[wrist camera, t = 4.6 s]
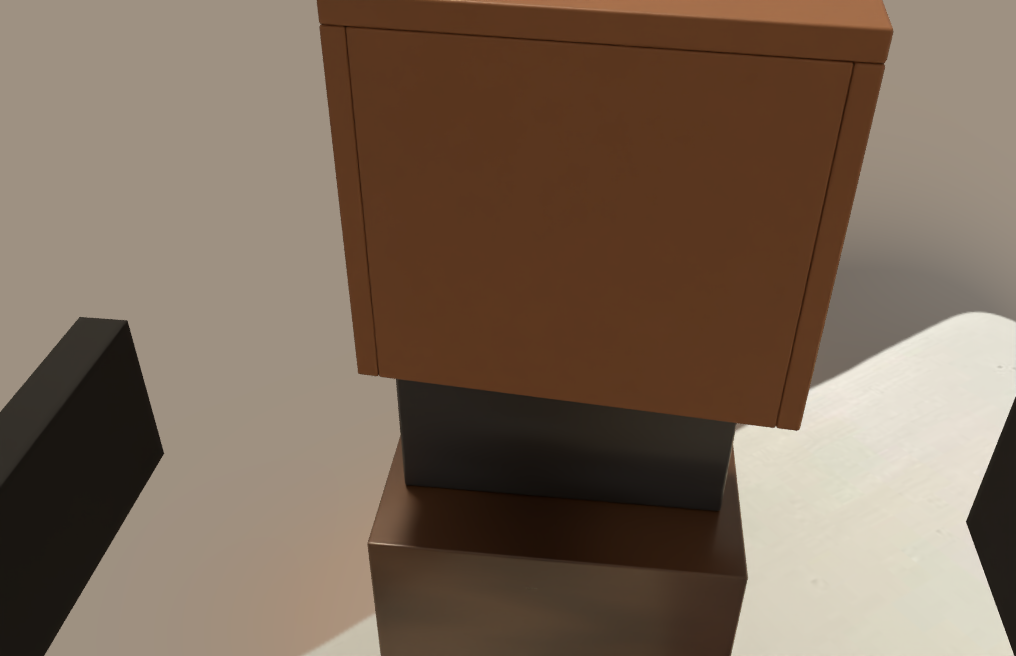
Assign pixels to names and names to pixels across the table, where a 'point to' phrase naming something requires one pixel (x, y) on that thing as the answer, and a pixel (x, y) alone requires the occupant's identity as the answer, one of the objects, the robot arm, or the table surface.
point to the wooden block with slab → (555, 530)
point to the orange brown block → (600, 192)
